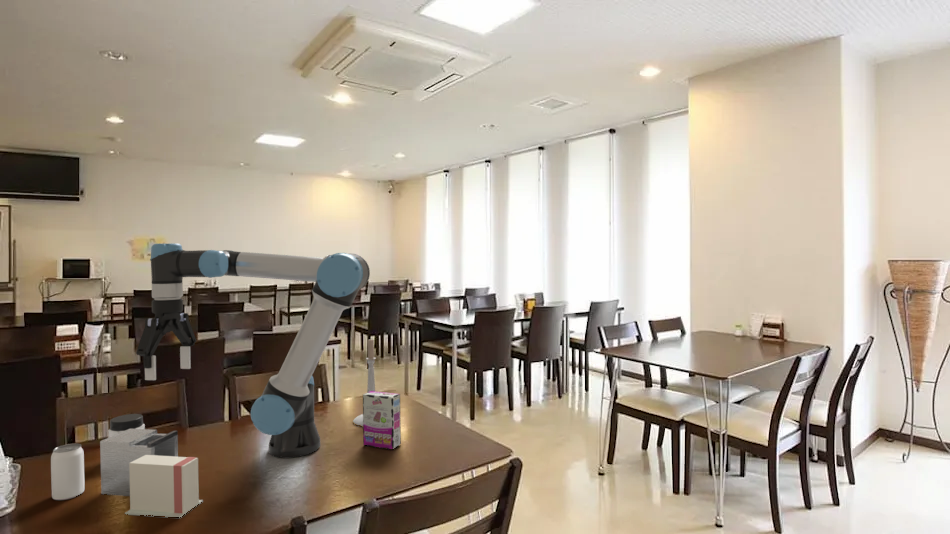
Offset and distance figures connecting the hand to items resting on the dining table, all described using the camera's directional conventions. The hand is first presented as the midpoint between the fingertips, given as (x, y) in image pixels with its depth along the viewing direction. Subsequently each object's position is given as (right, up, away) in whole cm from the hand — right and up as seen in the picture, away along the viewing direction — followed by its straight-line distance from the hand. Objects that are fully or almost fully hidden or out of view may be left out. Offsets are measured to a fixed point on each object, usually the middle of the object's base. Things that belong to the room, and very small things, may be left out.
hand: (168, 374), depth 145 cm
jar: (-17, -27, +8) cm, 33 cm away
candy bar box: (+57, -26, +17) cm, 65 cm away
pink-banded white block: (+12, -27, -22) cm, 37 cm away
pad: (+12, -27, -22) cm, 37 cm away
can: (-16, -27, -15) cm, 35 cm away
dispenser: (-1, -27, -11) cm, 29 cm away
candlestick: (+49, -26, +41) cm, 69 cm away
